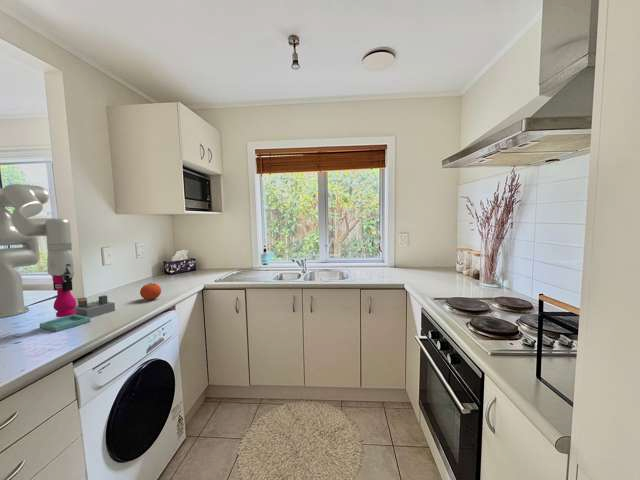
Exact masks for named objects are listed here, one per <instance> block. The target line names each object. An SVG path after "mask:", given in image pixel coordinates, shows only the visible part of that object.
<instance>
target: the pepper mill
mask: <svg viewBox="0 0 640 480" xmlns="http://www.w3.org/2000/svg"><path fill="white" fill-rule="evenodd" d="M64 274H68V273H64ZM52 278H53V280H52V283H53V282H54V283H55V284H56V285H55V288H57V290H56V291H57V293H56V298H55V300H54V302H53V310H55V311H57V312H56V313H55V318H62V317H66V316H70V315H74V314H76V309H74V307H75V306H77V305H78V302H77V300H76V298H75V297H74V296H73V294H72V293H71V290H70V291H65V292H63V289H62V282H63V279H62V276H55V275H54V276H53V277H52ZM65 278H66V276H65Z"/></svg>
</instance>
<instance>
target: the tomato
mask: <svg viewBox="0 0 640 480" xmlns="http://www.w3.org/2000/svg"><path fill="white" fill-rule="evenodd" d="M139 294H140V297H141V298H143V299H144V300H148V301H150V300H151V301H152V300H155V299H158V297H159V296H160V295H161V294H162V287H161V286H160V285H159V284H157V283H155V282H154V283H152V282H151V281H150V282H149V283H146V284H144V285H143V286H141V288H140V291H139Z"/></svg>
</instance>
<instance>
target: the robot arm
mask: <svg viewBox="0 0 640 480" xmlns="http://www.w3.org/2000/svg"><path fill="white" fill-rule="evenodd" d="M49 197H50V196H49V192H48V190H47V189H46V188H44V187H43V186H39V185H33V184H20V183H13V184H12V183H11V184H8V185H6V186H4V187H3V188H0V247H2V246H5V247H6V246H18V245H19V246H22V247H8V248H7V247H6V248H0V318H6V317H12V316H17V315H21V314H23V313H24V314H25V313H26V312H28V311H30V307H27V306H25V300H24V299H25V298H24V289H23V288H24V287H23V278H22V275H21V274H20V272H19V271H17V270H15V268H18V267H20V268H21V267H30V266H35V265H37V264H38V263H39V261H40V257H41V256H40V248H39V247H40V246H39V239H38V238H39V237H46V249H47V264H46V265H47V274H48V275H50V276H51V277H52V283H53V284H52V285H53V290H54V291H57V288H55V285H56V284H55V283H54V282H53V276H54V275H55V276H62V279H63V282H62V289H63V292H65V291H70V292H71V291H73V278H74V276H75V273H74V271H75V270H74V269H75V268H74V266H75V265H74V260H73V253H72V251H73V247H72V246H73V245H72V235H71V234H72V232H71V222H70V220H69V219H68V218H46V217H45V218H44V217H41V218H40V217H36V218H35V217H34V216H37V215H39V214H40V213H41V212H42V211H43V209H44V206H43V205H44V204H46V203H47V202H48V201H49V199H50V198H49ZM8 208H14V210H13V211H12V212H11V211H9V209H8ZM33 217H34V218H33ZM64 273H68V274H64ZM65 276H66V278H65Z"/></svg>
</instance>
